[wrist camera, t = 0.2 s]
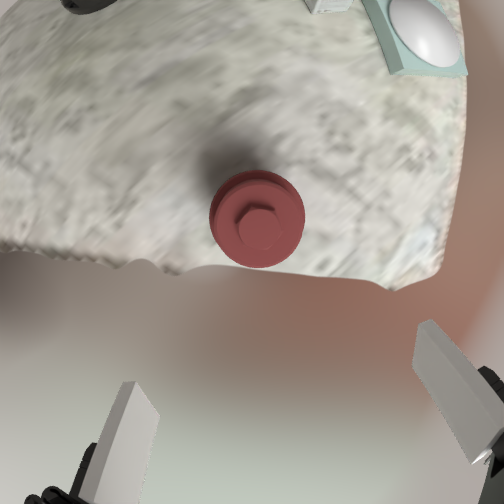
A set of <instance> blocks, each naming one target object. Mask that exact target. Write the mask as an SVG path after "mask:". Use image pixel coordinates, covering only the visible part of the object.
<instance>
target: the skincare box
mask: <svg viewBox="0 0 504 504" xmlns="http://www.w3.org/2000/svg"><path fill="white" fill-rule="evenodd" d="M304 1H305V2H306V4H307V6H308V7H309V9H310V11H311V13H312V14H318V13H331V12H345V11H347V10H348V8H349V7H350V5H351V4H352V2H353V1H354V0H304Z"/></svg>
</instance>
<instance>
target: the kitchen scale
mask: <svg viewBox="0 0 504 504" xmlns="http://www.w3.org/2000/svg"><path fill="white" fill-rule="evenodd" d="M362 2H363V4H364V6H365V8H366V11H367V13H368V15H369V17H370V20H371V22H372V24H373V27H374V29H375V32H376V34H377V37H378V39H379V42H380V45H381V47H382V50H383V53H384V56H385V59H386V62H387V65H388V68H389V71H390V74H391V75H421V76H436V77H448V78H457V77H461V76H465V75H468V72H467V68H466V65H465V62H464V59H463V56H462V53H461V50H460V44H459V40H458V37H457V34H456V32H455V30H454V28H453V26H452V24H451V23H450V21H449V20H448V19H447V16H446V14H445V12H444V10H443V8H442V6H441V4H440V2H438V1H434V0H362Z"/></svg>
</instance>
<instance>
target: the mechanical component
mask: <svg viewBox="0 0 504 504" xmlns="http://www.w3.org/2000/svg"><path fill="white" fill-rule="evenodd" d="M209 222H210V228H211V232H212V234H213V237H214V239H215V240H216V242H217V244H218V245H219V246H220V248H221V249H222V250H223V252H224V253H225V254H226V255H227V256H228V257H229V258H230V259H232V260H233V261H235V262H236V263H239V264H241V265H243V266H247V267H252V268H265V267H270V266H273V265H276V264H278V263H280V262H282V261H283V260H285V259H286V258H287V257H289V256H290V255H291V254H292V253H293V251H294V250H295V249H296V247H297V245H298V244H299V242H300V239H301V237H302V232H303V229H304V223H305V210H304V205H303V202H302V199H301V197H300V195H299V193H298V192H297V190H296V189H295V188H294V187H293V186H292V184H290V183H289V182H288V181H287V180H286V179H284V178H283V177H281V176H279V175H277V174H275V173H272V172H269V171H264V170H250V171H246V172H242V173H239V174H237V175H235V176H233V177H232V178H230V179H229V180H227V181H226V182H225V183H224V184H223V185H222V186H221V187H220V189H219V190H218V191H217V193H216V195H215V196H214V198H213V201H212V203H211V207H210V214H209Z"/></svg>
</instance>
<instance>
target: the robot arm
mask: <svg viewBox="0 0 504 504" xmlns="http://www.w3.org/2000/svg"><path fill="white" fill-rule="evenodd" d="M60 1H61V3H62V5H63V6H64V7H65V8H66V9H67V10H69V11H70V12H72V13H74V14H89V13H92V12H95V11H98V10H100V9H103V8H105V7H107V6H109V5H110V4H112V3H114V2H115V1H117V0H60ZM412 367H413V369H414V371H415V372H416V374H417V375H418V376H419V378H420V380H421V381H422V383H423V384H424V386H425V387H426V389H427V391H428V392H429V394H430V395H431V397H432V398H433V400H434V402H435V403H436V405H437V407H438V408H439V410H440V411H441V413H442V415H443V416H444V418H445V419H446V421H447V423H448V425H449V427H450V428H451V430H452V432H453V433H454V435H455V437H456V439H457V440H458V442H459V444H460V446H461V448H462V449H463V451H464V453H465V455H466V457H467V459H468V460H469V462H470V464H473V463H474V462H476V461H477V460H479V459H480V458H482V457H483V456H485V455H486V454H487V452H488V451H489V450H490V449H492V451H493V452H492V454H491V455H490V456H489V457H488V458H487V459H486V460H485V463H484V465H486V464H487V463H488V462H489V461H490V464H489V468H488V472H487V476H486V480H485V483H484V487H483V490H482V493H481V496H480V500H479V503H478V504H504V383H503V382H502V380H500V378H499V377H498V376H497V374H496V373H495V372H494V371H493V370H491V369H489V368H487V367H486V366H483V367H481V368H480V369H478V370H477V369H476V368H475V367H474V366H473V364H472V363H471V362H470V361H469V360H468V359H467V357H466V356H465V355H464V354H463V353H462V352H461V351H460V349H458V347H457V346H456V345H455V344H454V343H453V342H452V340H451V339H450V338H449V337H448V336H447V335H446V334H445V333H444V332H443V331H442V330H441V328H440V327H439V326H438V325H437V324H436V323H435V322H434V321H433V320H432V319H430V320H427V321H425V322H422V323H419V324H418V330H417V338H416V344H415V350H414V356H413V361H412ZM159 418H160V416H159V414H158V413H157V412H156V410H155V409H154V407H153V406H152V405H151V403H150V402H149V400H148V399H147V397H146V396H145V394H144V393H143V391H142V390H141V388H140V387H139V385H138V384H137V382H136V381H135V382H123V383H122V386H121V388H120V390H119V392H118V395H117V397H116V399H115V402H114V404H113V406H112V409H111V411H110V413H109V416H108V418H107V421H106V423H105V426H104V428H103V431H102V433H101V435H100V438H99V440H98V443H92V444H91V445H90V446H89V447H88V448H87V449H86V451H85V453H84V456H83V458H82V460H83V461H81V463H80V468H79V469H78V471H77V474H76V477H75V479H74V482H73V485H72V488H71V491H70V493H69V495H68V494H66V493H65V492H64V491H62V490H61V489H59V488H58V487H55V486H50V487H48V488H46V489H45V490H44V491H43V493H42V496H41V498H40V497H39V496H37V495H34V494H32V495H29V496H28V497H27V498H26V499H25V502H24V504H139V502H140V497H141V493H142V488H143V484H144V479H145V475H146V470H147V466H148V462H149V457H150V453H151V450H152V446H153V441H154V438H155V434H156V430H157V426H158V422H159Z"/></svg>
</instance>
